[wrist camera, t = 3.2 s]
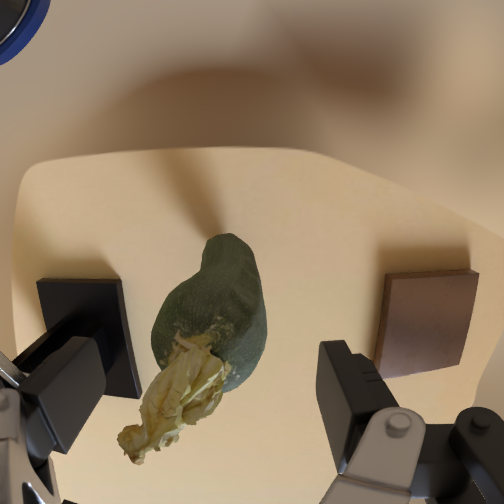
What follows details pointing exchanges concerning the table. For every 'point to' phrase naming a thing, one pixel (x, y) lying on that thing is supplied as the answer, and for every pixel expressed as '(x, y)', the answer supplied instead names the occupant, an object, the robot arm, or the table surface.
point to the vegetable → (201, 345)
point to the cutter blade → (11, 371)
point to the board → (424, 321)
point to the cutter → (86, 329)
